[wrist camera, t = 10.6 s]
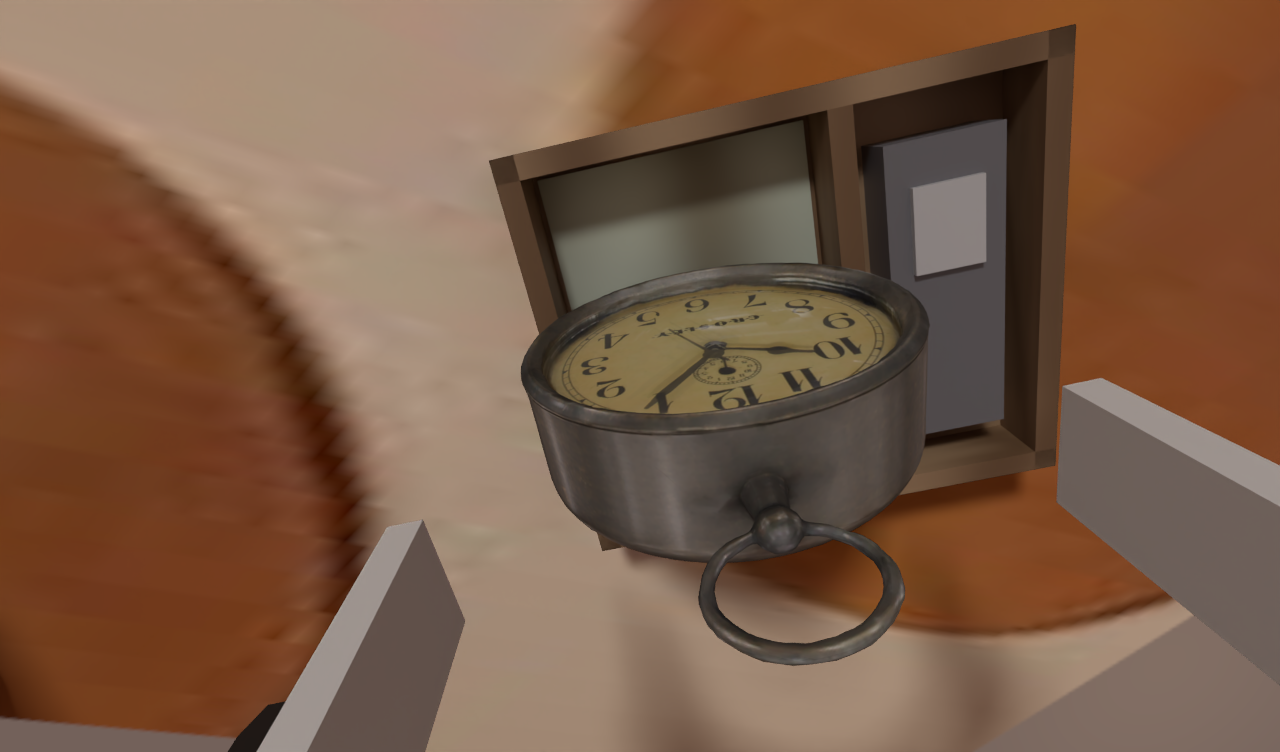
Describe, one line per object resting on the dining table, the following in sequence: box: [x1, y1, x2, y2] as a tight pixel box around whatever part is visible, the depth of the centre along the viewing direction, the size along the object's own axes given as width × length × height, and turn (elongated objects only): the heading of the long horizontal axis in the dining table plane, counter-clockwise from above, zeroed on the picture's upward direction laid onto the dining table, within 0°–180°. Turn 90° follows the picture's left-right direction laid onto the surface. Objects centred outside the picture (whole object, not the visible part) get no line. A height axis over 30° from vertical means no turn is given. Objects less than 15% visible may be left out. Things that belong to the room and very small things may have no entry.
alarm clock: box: [521, 263, 930, 666], centre depth 16 cm, size 11×5×16 cm, turn 100°
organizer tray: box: [489, 24, 1076, 551], centre depth 23 cm, size 18×16×3 cm
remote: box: [861, 119, 1007, 434], centre depth 22 cm, size 4×11×2 cm, turn 12°
